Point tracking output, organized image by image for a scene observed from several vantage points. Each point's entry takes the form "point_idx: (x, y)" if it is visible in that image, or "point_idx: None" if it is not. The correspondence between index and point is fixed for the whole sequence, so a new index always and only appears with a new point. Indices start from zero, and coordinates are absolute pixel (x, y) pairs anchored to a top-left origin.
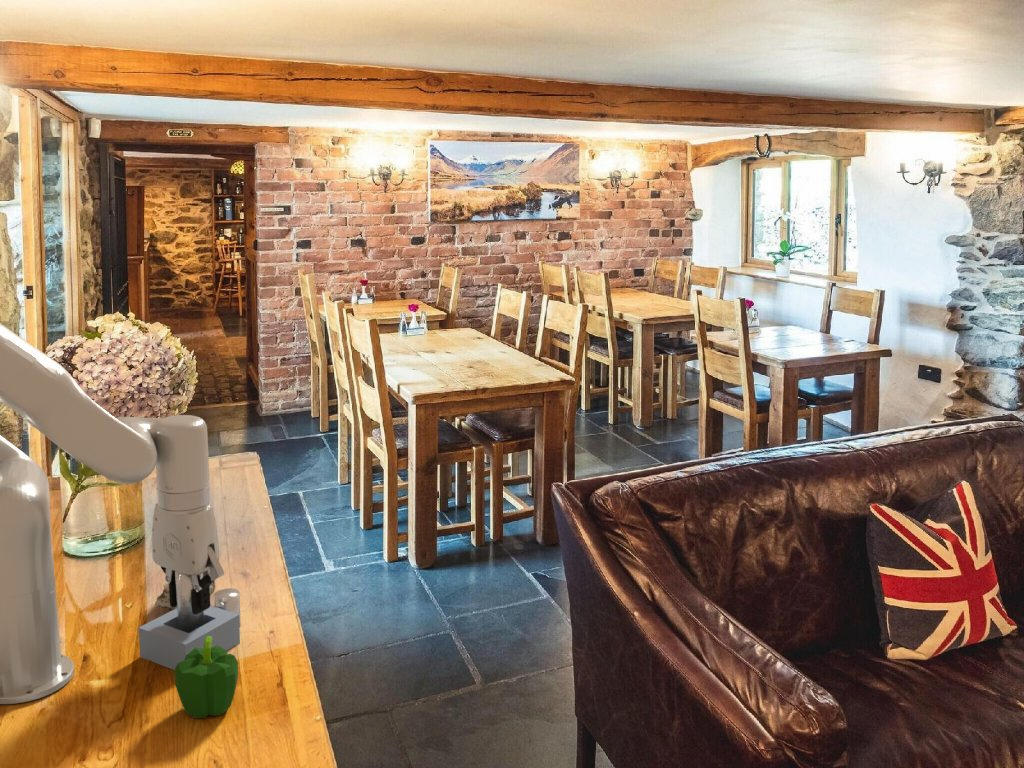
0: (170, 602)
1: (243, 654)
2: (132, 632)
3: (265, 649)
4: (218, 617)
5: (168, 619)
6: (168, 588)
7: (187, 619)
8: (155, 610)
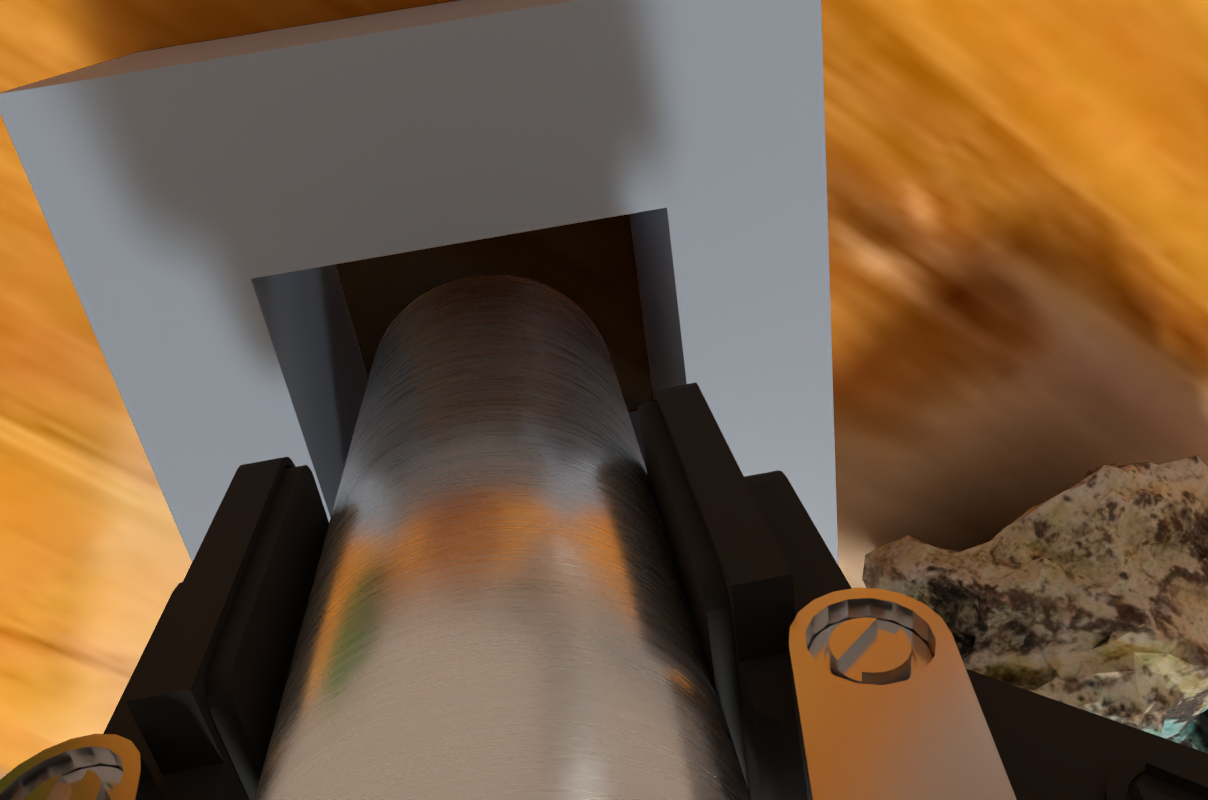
0: (692, 404)
1: (151, 514)
2: (1104, 161)
3: (114, 638)
4: None
5: (705, 305)
6: (1196, 613)
7: (391, 386)
8: (1190, 448)
